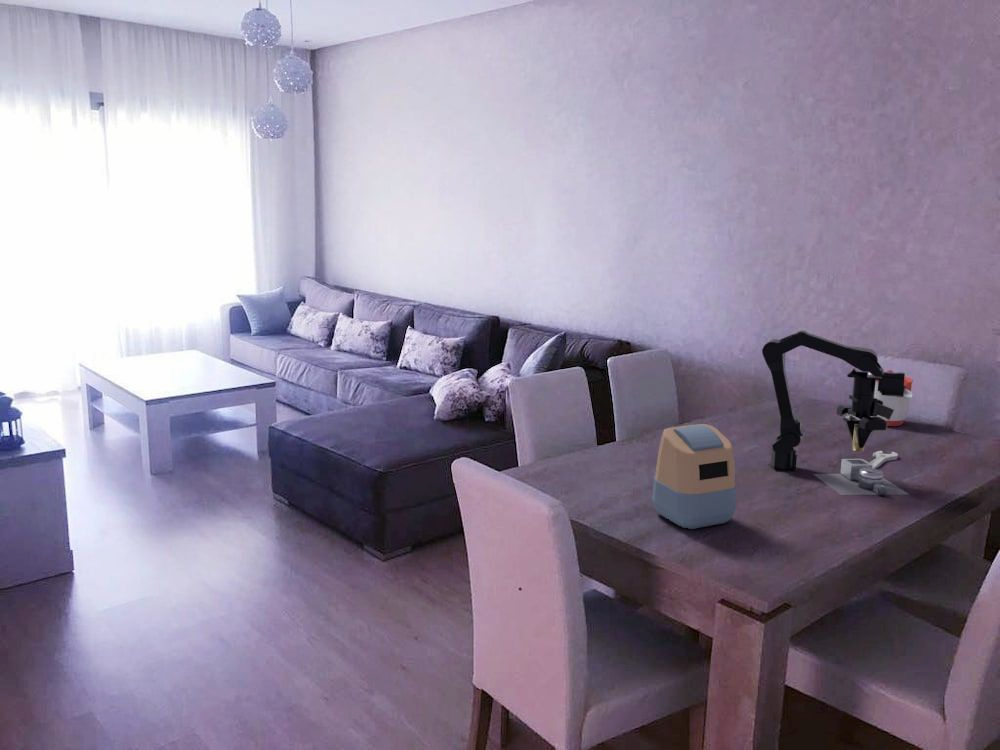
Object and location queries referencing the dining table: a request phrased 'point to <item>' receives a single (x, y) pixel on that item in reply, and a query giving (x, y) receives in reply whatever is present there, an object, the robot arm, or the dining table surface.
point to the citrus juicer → (896, 403)
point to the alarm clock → (695, 477)
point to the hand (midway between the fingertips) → (858, 446)
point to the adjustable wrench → (882, 458)
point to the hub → (869, 478)
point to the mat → (855, 485)
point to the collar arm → (852, 469)
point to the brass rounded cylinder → (856, 443)
